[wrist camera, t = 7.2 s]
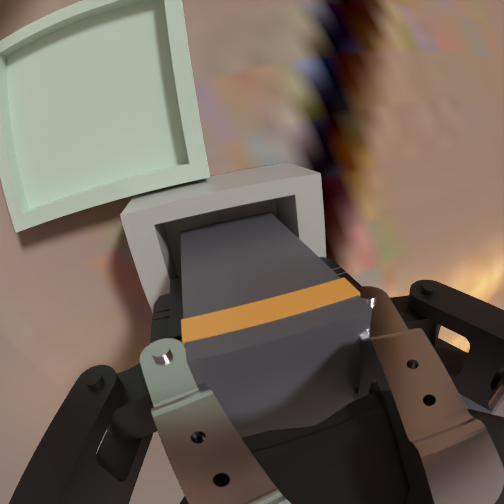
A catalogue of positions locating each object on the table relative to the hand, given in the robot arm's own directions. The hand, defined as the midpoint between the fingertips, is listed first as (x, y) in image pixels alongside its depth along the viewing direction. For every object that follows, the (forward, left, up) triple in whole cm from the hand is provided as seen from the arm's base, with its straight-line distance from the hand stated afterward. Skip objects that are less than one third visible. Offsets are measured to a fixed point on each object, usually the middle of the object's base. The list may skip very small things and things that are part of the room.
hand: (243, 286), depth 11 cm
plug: (0, 0, -2) cm, 2 cm away
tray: (-9, -6, -5) cm, 12 cm away
